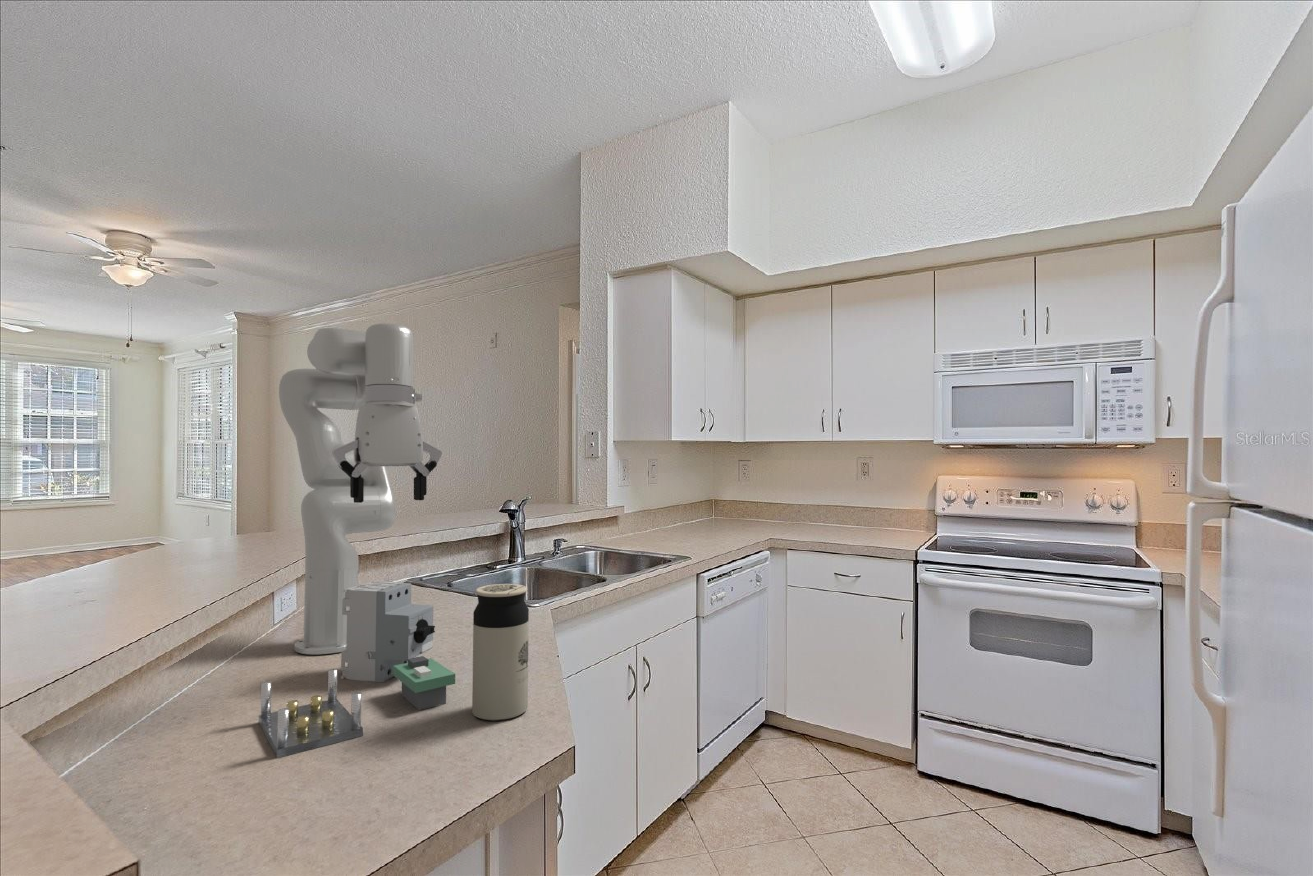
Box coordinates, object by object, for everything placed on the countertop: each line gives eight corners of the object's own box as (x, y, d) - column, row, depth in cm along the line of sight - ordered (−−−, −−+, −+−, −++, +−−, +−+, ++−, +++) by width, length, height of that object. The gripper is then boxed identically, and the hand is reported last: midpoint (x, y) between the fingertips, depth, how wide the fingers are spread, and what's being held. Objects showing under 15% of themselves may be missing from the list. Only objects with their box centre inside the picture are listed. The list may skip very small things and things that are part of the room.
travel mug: (460, 717, 91) (462, 591, 92) (494, 698, 99) (495, 581, 100) (507, 725, 88) (508, 595, 89) (538, 705, 96) (539, 585, 97)
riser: (401, 694, 100) (401, 675, 100) (426, 689, 103) (427, 670, 103) (419, 710, 94) (419, 689, 94) (446, 703, 97) (446, 683, 97)
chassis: (258, 722, 89) (259, 683, 90) (336, 705, 96) (336, 668, 96) (277, 758, 79) (278, 713, 79) (362, 735, 85) (363, 694, 85)
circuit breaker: (416, 684, 105) (418, 593, 105) (340, 678, 108) (342, 589, 108) (441, 670, 112) (442, 584, 113) (369, 665, 115) (370, 581, 115)
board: (393, 675, 100) (393, 659, 100) (430, 667, 104) (431, 652, 104) (415, 693, 93) (415, 675, 93) (455, 683, 97) (455, 667, 97)
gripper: (432, 404, 115) (433, 499, 114) (327, 398, 104) (326, 503, 102) (448, 399, 109) (449, 499, 108) (339, 392, 98) (338, 503, 97)
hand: (389, 501), depth 105 cm, fingers open, 9 cm apart
